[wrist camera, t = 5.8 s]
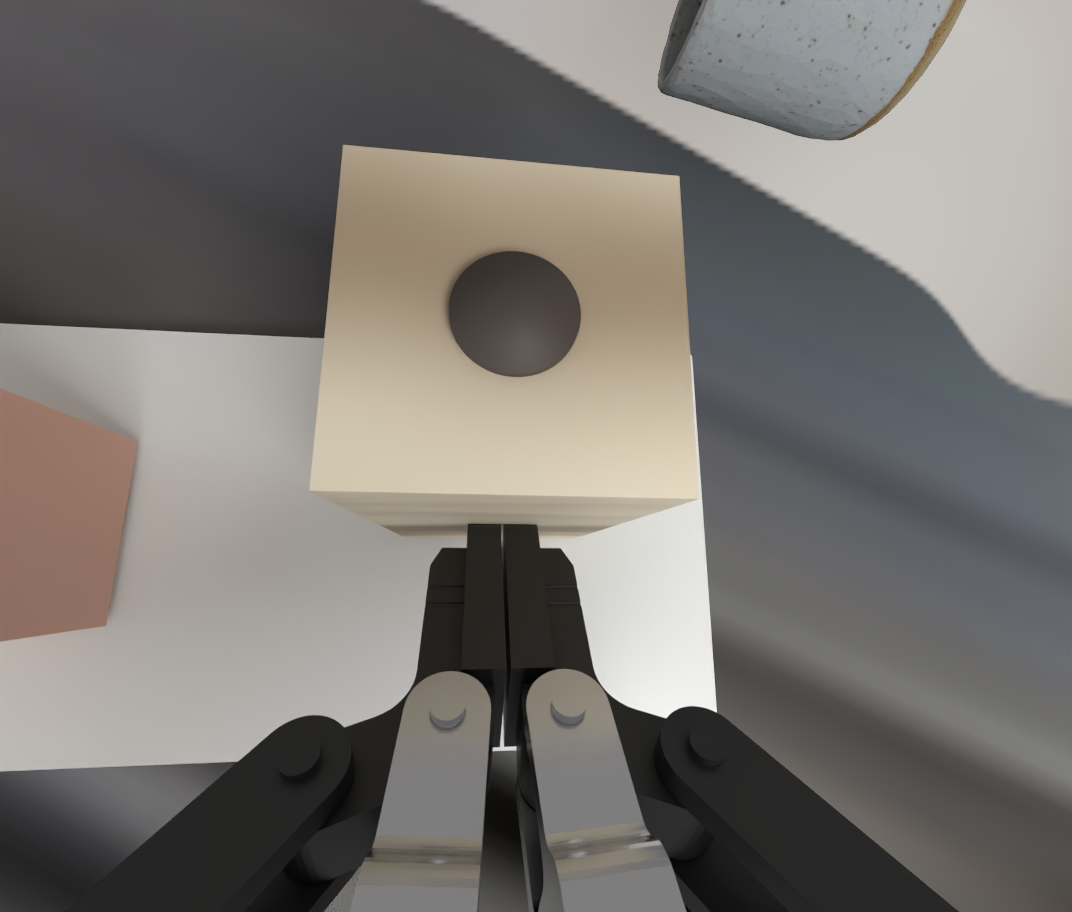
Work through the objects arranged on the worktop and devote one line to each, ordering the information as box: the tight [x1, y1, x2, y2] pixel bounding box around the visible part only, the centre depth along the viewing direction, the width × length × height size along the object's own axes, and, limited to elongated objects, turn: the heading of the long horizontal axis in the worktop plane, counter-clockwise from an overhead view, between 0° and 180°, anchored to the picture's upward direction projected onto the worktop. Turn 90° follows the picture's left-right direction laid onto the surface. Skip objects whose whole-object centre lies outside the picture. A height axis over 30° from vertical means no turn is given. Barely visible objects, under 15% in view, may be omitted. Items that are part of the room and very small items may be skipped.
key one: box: [309, 145, 699, 539], centre depth 12 cm, size 5×5×9 cm
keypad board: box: [0, 323, 717, 771], centre depth 16 cm, size 26×12×1 cm, turn 90°
